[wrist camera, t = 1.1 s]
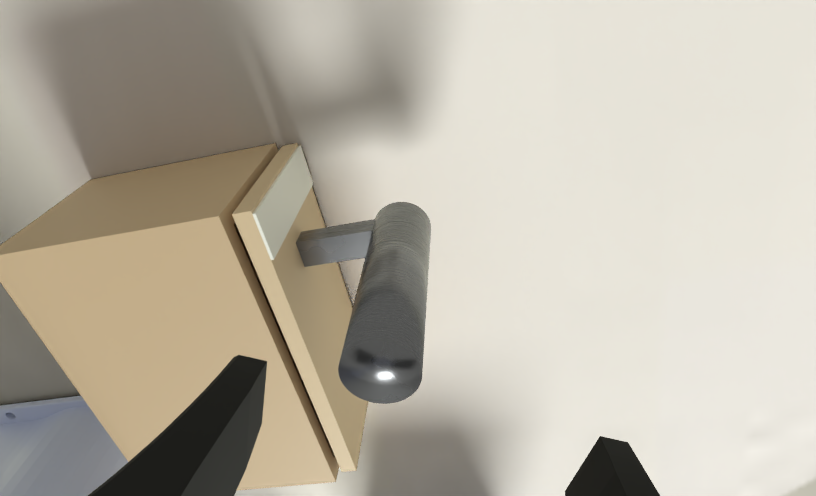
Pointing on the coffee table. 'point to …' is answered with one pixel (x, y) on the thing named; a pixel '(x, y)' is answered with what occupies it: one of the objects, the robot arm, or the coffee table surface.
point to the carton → (164, 307)
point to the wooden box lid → (340, 296)
